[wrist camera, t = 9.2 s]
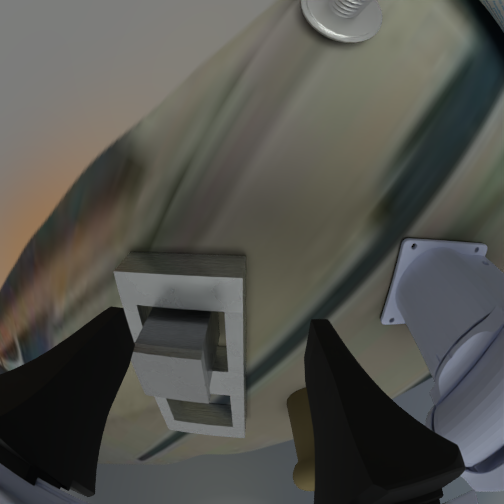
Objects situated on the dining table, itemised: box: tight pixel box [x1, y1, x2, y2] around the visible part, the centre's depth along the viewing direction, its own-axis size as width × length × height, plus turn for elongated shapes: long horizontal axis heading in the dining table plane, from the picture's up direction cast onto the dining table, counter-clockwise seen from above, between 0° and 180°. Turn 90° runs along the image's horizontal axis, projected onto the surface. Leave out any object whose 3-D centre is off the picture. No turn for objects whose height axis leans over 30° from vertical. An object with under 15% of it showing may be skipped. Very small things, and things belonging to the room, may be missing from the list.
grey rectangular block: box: [131, 307, 220, 404], centre depth 20 cm, size 5×5×7 cm
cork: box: [287, 388, 315, 491], centre depth 23 cm, size 6×6×11 cm
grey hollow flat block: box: [114, 252, 246, 438], centre depth 24 cm, size 9×22×3 cm, turn 179°
